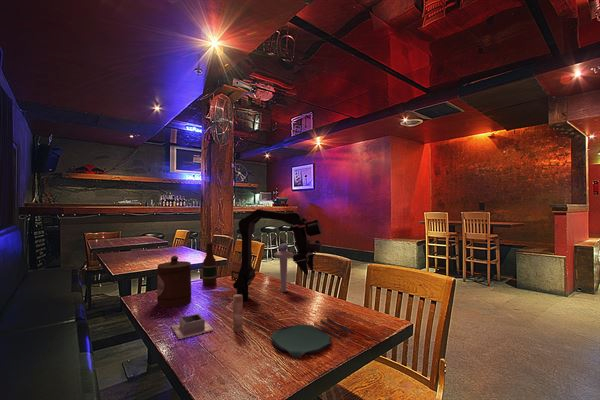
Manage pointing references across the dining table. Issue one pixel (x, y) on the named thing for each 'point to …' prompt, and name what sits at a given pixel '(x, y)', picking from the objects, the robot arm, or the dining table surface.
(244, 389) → the dining table surface
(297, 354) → the cutlery set
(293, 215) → the robot arm
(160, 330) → the dining table surface
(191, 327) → the cup bracket
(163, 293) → the wooden container
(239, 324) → the wooden post
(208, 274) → the beer bottle
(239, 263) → the ammunition clip
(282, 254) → the novelty light stick
